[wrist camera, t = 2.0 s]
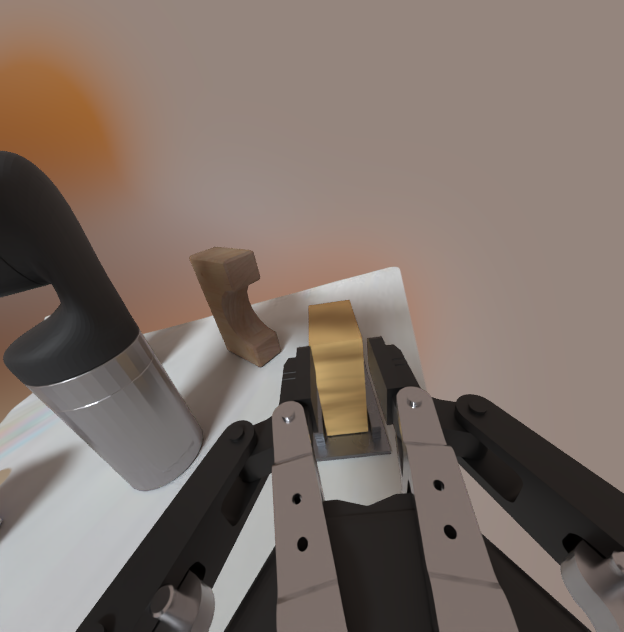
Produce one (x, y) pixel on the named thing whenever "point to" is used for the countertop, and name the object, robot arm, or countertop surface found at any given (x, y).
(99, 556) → the countertop surface
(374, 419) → the metal track
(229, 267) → the decorative block
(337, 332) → the slider block
